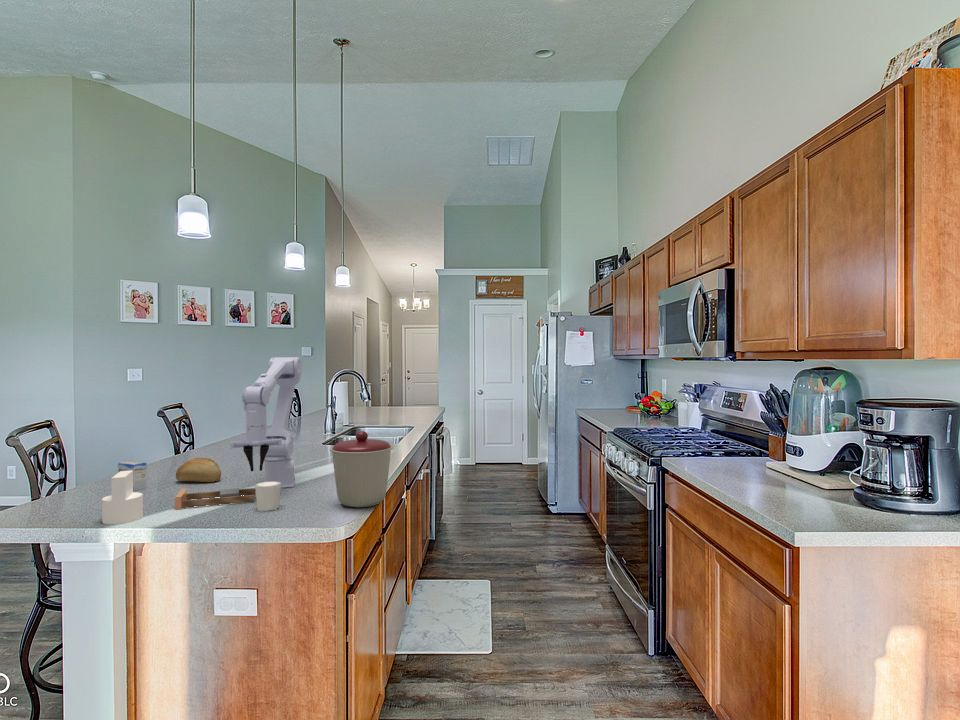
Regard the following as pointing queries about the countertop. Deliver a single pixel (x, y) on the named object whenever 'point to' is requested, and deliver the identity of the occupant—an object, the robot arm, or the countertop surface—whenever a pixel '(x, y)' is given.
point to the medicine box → (135, 473)
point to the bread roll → (199, 471)
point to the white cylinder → (268, 495)
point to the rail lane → (211, 498)
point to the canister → (361, 470)
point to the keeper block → (229, 492)
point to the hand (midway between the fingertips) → (256, 470)
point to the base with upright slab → (122, 501)
